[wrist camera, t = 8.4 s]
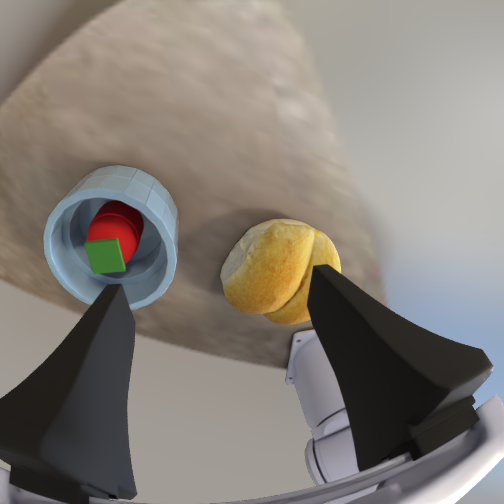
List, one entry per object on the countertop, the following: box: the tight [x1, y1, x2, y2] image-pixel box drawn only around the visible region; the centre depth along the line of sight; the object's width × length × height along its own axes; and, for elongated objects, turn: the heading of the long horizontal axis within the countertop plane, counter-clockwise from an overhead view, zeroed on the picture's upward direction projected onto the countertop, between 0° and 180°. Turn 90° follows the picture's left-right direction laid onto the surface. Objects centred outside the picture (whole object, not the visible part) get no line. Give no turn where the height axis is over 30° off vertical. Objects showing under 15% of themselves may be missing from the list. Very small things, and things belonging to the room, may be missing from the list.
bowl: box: [43, 165, 179, 310], centre depth 16 cm, size 8×8×4 cm
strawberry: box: [84, 200, 144, 274], centre depth 16 cm, size 3×3×4 cm
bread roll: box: [220, 219, 341, 325], centre depth 21 cm, size 8×9×4 cm
